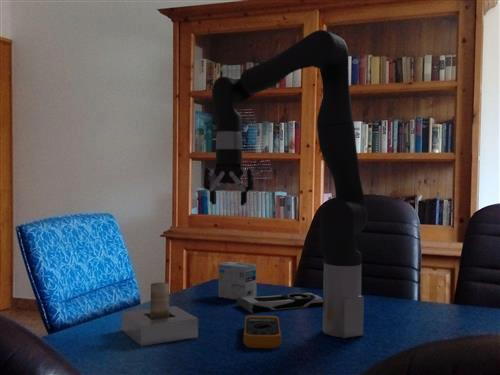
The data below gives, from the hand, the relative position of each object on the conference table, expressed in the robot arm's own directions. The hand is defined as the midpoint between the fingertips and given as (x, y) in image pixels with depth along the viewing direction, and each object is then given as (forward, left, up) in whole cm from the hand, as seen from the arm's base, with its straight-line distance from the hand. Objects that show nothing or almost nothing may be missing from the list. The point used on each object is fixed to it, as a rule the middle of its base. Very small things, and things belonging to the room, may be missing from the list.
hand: (228, 204), depth 158 cm
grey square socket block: (-14, +26, -30) cm, 42 cm away
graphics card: (-4, -16, -31) cm, 35 cm away
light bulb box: (+12, -10, -30) cm, 34 cm away
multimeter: (-28, +5, -31) cm, 42 cm away
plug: (-14, +26, -30) cm, 42 cm away
